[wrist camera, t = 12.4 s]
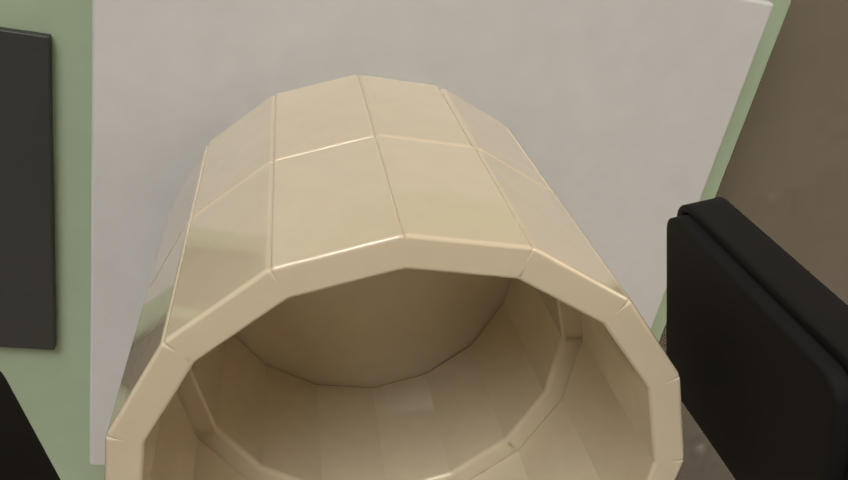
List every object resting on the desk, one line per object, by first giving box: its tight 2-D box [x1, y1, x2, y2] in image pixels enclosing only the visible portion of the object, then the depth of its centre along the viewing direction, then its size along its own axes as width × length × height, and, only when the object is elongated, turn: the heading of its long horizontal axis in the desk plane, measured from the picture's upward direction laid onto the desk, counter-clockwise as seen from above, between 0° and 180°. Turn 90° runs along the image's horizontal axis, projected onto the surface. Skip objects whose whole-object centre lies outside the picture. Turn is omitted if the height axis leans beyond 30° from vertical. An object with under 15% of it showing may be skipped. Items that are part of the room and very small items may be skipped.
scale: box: [0, 0, 791, 480], centre depth 16 cm, size 14×14×3 cm
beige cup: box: [104, 75, 684, 480], centre depth 12 cm, size 7×7×6 cm
